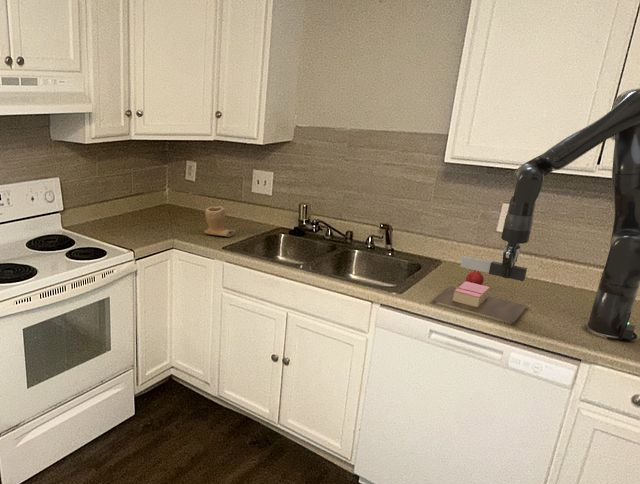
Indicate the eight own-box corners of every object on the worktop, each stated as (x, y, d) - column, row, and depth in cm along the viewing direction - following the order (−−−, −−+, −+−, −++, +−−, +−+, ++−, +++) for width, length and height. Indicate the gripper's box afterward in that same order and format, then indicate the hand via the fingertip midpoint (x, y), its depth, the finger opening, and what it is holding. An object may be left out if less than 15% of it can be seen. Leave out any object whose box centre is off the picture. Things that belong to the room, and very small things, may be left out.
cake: (487, 297, 191) (490, 287, 189) (480, 303, 184) (483, 293, 183) (463, 291, 196) (465, 281, 195) (456, 297, 190) (458, 287, 189)
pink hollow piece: (199, 235, 268) (200, 207, 263) (210, 230, 278) (211, 203, 273) (226, 240, 260) (227, 211, 256) (236, 235, 270) (238, 207, 265)
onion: (465, 284, 205) (469, 265, 203) (482, 288, 202) (486, 268, 199) (463, 288, 201) (466, 269, 199) (480, 292, 197) (484, 272, 195)
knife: (524, 279, 172) (527, 268, 171) (523, 281, 170) (525, 269, 169) (461, 266, 185) (463, 255, 183) (459, 267, 183) (461, 256, 182)
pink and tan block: (479, 305, 184) (482, 294, 182) (477, 307, 181) (479, 296, 180) (455, 298, 189) (457, 288, 188) (452, 300, 187) (454, 290, 186)
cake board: (526, 308, 184) (527, 305, 184) (513, 325, 170) (513, 322, 170) (450, 289, 201) (450, 286, 200) (432, 303, 187) (432, 300, 187)
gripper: (526, 233, 162) (514, 284, 167) (535, 225, 172) (524, 274, 177) (498, 228, 167) (488, 278, 172) (509, 221, 177) (498, 269, 182)
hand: (506, 276), depth 174 cm, fingers closed on knife, 2 cm apart
